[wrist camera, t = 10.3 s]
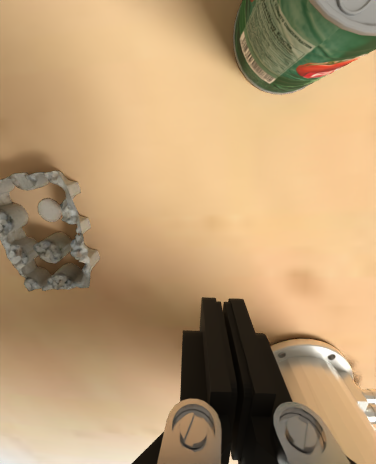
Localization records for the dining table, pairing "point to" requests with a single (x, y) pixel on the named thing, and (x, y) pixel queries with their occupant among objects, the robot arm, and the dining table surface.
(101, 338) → the dining table surface
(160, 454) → the robot arm
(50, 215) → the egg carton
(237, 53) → the canned tomato
